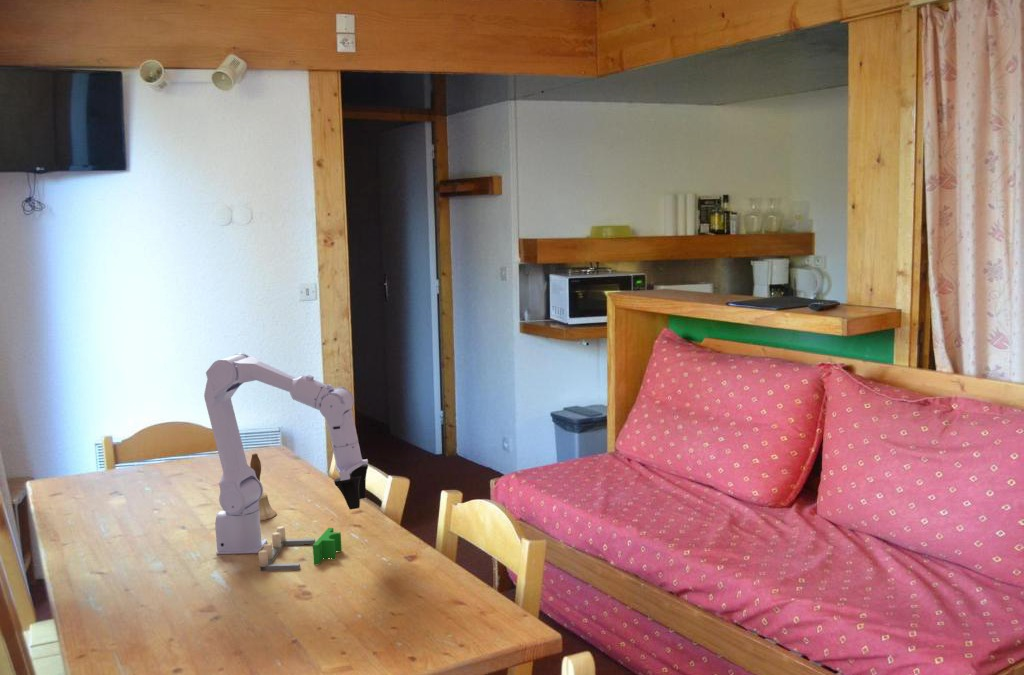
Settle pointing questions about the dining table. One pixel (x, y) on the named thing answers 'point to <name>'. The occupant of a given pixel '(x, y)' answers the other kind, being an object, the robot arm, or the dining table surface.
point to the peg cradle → (278, 542)
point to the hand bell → (264, 505)
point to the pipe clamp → (327, 546)
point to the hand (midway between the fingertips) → (357, 503)
